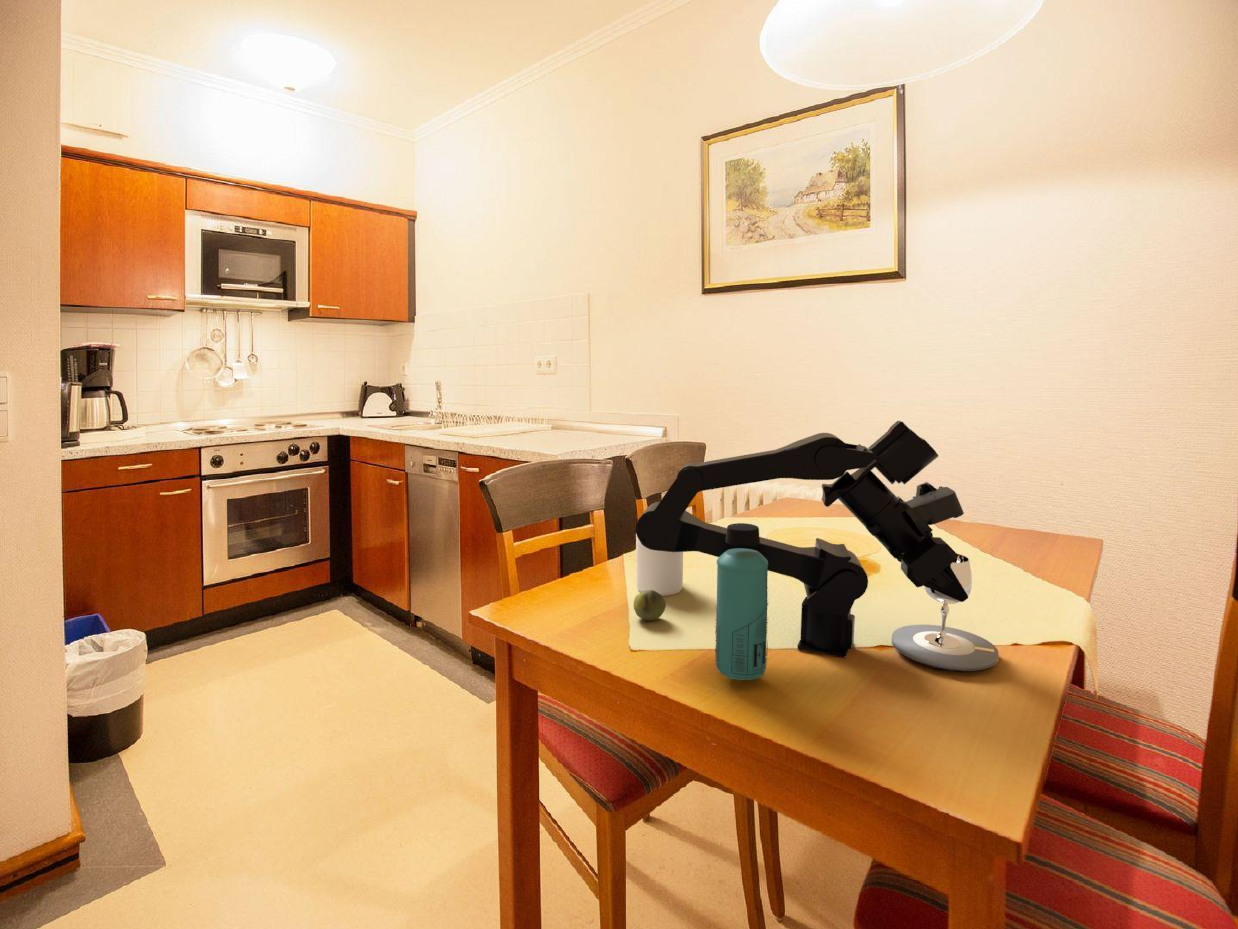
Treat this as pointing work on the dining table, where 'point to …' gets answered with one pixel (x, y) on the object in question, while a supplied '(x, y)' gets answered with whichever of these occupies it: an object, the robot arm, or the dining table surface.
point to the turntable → (965, 657)
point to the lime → (649, 605)
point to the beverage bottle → (741, 606)
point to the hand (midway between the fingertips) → (957, 591)
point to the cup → (658, 570)
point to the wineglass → (965, 578)
